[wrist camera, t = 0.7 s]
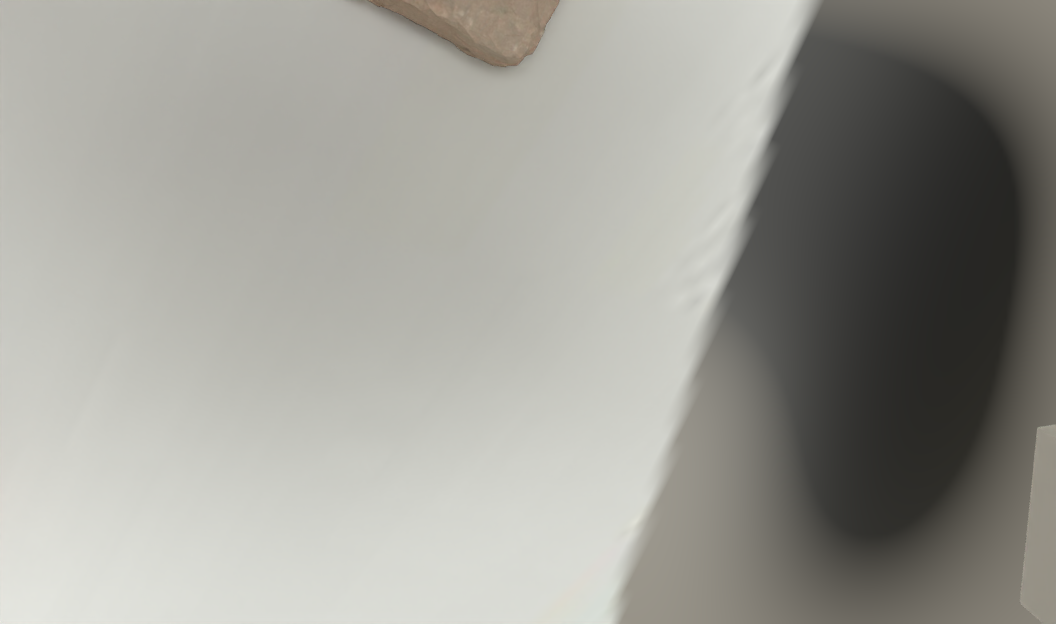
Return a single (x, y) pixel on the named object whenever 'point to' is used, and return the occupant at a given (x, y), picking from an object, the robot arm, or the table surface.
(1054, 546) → the robot arm
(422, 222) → the table surface
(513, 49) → the brick
